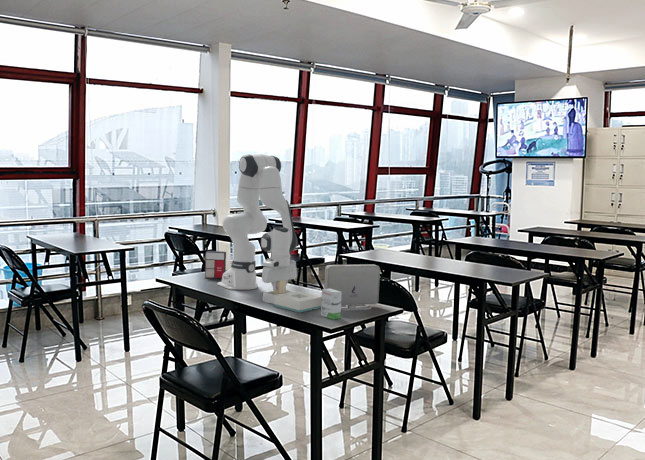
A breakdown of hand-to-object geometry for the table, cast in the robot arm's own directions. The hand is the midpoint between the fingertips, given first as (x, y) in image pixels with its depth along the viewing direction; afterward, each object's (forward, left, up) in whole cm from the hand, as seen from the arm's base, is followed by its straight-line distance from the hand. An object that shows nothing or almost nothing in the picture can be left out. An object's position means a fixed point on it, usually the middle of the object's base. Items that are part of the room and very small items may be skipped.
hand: (279, 289), depth 284 cm
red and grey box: (-64, +12, -5) cm, 65 cm away
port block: (+15, -2, -5) cm, 16 cm away
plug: (0, 0, -5) cm, 5 cm away
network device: (+32, +15, -5) cm, 36 cm away
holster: (0, 0, -5) cm, 5 cm away
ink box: (+37, -5, -5) cm, 38 cm away
